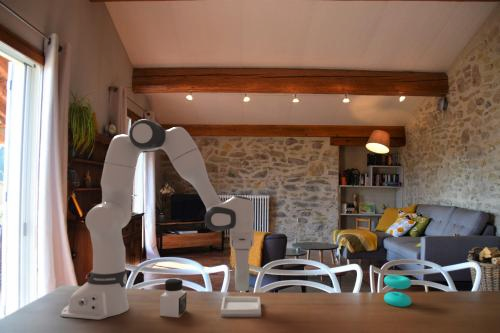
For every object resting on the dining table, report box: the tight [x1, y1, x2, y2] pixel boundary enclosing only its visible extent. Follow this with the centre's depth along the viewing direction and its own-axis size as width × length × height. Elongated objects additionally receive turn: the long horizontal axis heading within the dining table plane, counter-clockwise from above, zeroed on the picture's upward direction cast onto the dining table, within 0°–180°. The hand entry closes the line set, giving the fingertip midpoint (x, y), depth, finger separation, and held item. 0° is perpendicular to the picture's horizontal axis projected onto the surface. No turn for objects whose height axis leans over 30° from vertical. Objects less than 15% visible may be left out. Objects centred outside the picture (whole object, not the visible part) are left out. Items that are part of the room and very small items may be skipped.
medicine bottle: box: [159, 277, 187, 319], centre depth 133 cm, size 7×7×12 cm
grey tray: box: [220, 296, 262, 318], centre depth 137 cm, size 14×14×2 cm
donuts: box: [383, 274, 412, 308], centre depth 146 cm, size 10×10×10 cm
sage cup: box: [234, 263, 250, 292], centre depth 137 cm, size 5×5×9 cm
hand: (241, 277), depth 137 cm, fingers closed on sage cup, 5 cm apart
